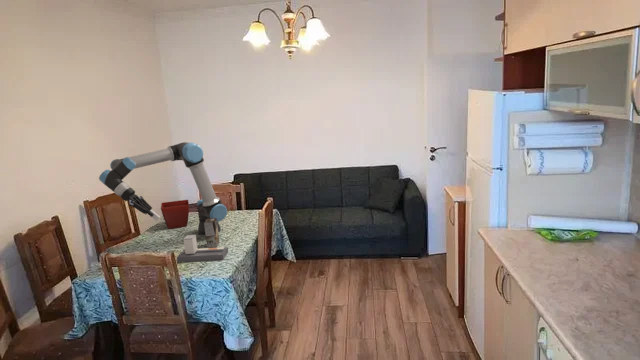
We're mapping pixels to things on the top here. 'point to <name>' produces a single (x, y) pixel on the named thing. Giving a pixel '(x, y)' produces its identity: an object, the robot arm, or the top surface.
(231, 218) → the top surface
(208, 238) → the coffee box
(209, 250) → the switch deck
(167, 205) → the plant pot
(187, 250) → the switch tab
